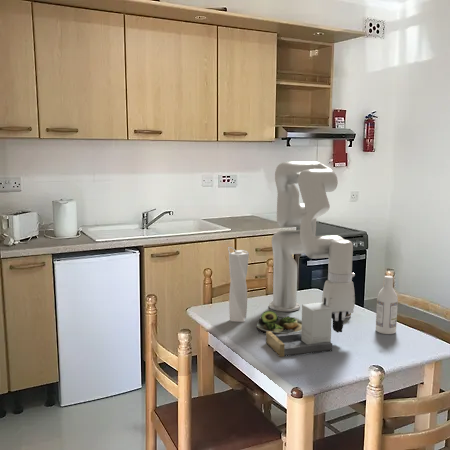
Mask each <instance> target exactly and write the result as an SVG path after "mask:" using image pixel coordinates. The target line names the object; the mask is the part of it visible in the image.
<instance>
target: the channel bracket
mask: <svg viewBox="0 0 450 450" xmlns="http://www.w3.org/2000/svg"><path fill="white" fill-rule="evenodd" d="M265 343H266V345H268V347H269V349H271V350H272V351H273V352H274V353H275V354H276V355H277V356H278V357H279V358H283V357H292V356H302V355H311V354H319V353H327V352H333V343H332V341H331V342H325V343H316V344H306V343H304V342H303V341H302V340H301V332H298V333H289V332H288V334H278V335H274V334H273V333H272V332H271V331H266V334H265Z"/></svg>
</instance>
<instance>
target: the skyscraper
mask: <svg viewBox="0 0 450 450" xmlns="http://www.w3.org/2000/svg"><path fill="white" fill-rule="evenodd" d="M230 249H232V250H233V252H230ZM227 250H228V267H229V279H230V282H229V283H230V284H229V296H228V297H229V298H228V300H229V301H228V302H229V305H228V306H229V307H228V308H229V309H228V311H229V322H238V323H239V322H240V323H245V320H246V319H247V311H248V286H247V281H246V280H247V275H248V269H249V268H248V267H249V258H250V257H249V256H250V253H249V251H247V250H246V249H235V248H234V247H232V246H228V247H227Z"/></svg>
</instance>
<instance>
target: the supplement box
mask: <svg viewBox="0 0 450 450" xmlns="http://www.w3.org/2000/svg"><path fill="white" fill-rule="evenodd" d="M332 320H333V319H332V308H329V307H326V306H325V304H324V305H323V304H322V301H321V302H313V303H312V302H311V303H304V304H301V321H302V332H301V340H302V341H303V342H304V343H306V344H316V343H325V342H331V343H332Z"/></svg>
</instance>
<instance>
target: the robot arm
mask: <svg viewBox="0 0 450 450" xmlns="http://www.w3.org/2000/svg"><path fill="white" fill-rule="evenodd" d="M274 182H275V186H276V190H277V191H276V193H277V197H276V198H277V199H276V200H277V201H276V223H277V225H278V226H279V227H281V228H291V229H292V228H299V229H292V230H291V229H290V230H289V229H288V230H280V231H277V232H275V233H274V234H273V235H272V238H271V248H272V256H273V277H272V278H273V279H272V280H273V281H272V282H273V284H272V288H273V289H272V291H273V292H272V301H270V302H269V304H268V307H269V308H270V309H271V310H273V311H277V312H285V313H286V312H287V313H288V312H297V311H298V310H300V309H301V304H300V303H299V302H297V292H298V291H297V289H298V288H297V287H298V264H297V261H296V259H294V257H293V255H297V254H298V255H299V254H305V255H306V257H308V258H309V259H315V260H317V259H325V258H326V259H328V266H327V267H328V270H327V271H328V273H327V280H325V282H324V285H323V290H322V297H321V303H322V304H323V305H324V304H325V306H326V307H329V308H332V319H331V320H332V330H333V332H334V331H335V333H337V334H338V333H342V332H343V328H344V321H345V320H346V318H345V317H346V316H347V315H348V314H351V315H352V314H353V313H354V309H355V304H356V296H355V295H356V294H355V287H354V282H353V281H352V280H353V278H354V277H355V276H356V274H355V273H354V272H352V271H353V255H354V253H353V252H354V245H353V242H352V241H351V240H349V239H345V238H343V237H342V236H340V235H336V234H335V235H334V234H333V235H316V233H317V231H316V229H317V218H319V217H322V216H323V215H324V214H326V213H327V212H328V211H329V210H330V202H329V198H328V196H327V193H331V192H334V191H335V190H336V189H337V187H338V184H339V183H338V177H337V174H336V172H335V171H334V170H333V169H332V168H330V167H329V166H327V165H325V164H323V163H322V162H319V161H312V160H311V161H309V160H308V161H307V160H306V161H302V160H301V161H299V160H298V161H296V160H292V161H283V162H281V163H279V164H278V165H277V166H276V169H275V173H274ZM296 184H298V187H297V186H296ZM298 188H299V189H298ZM300 195H301V198H302V199H301V200H302V203H301V202H300Z"/></svg>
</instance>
